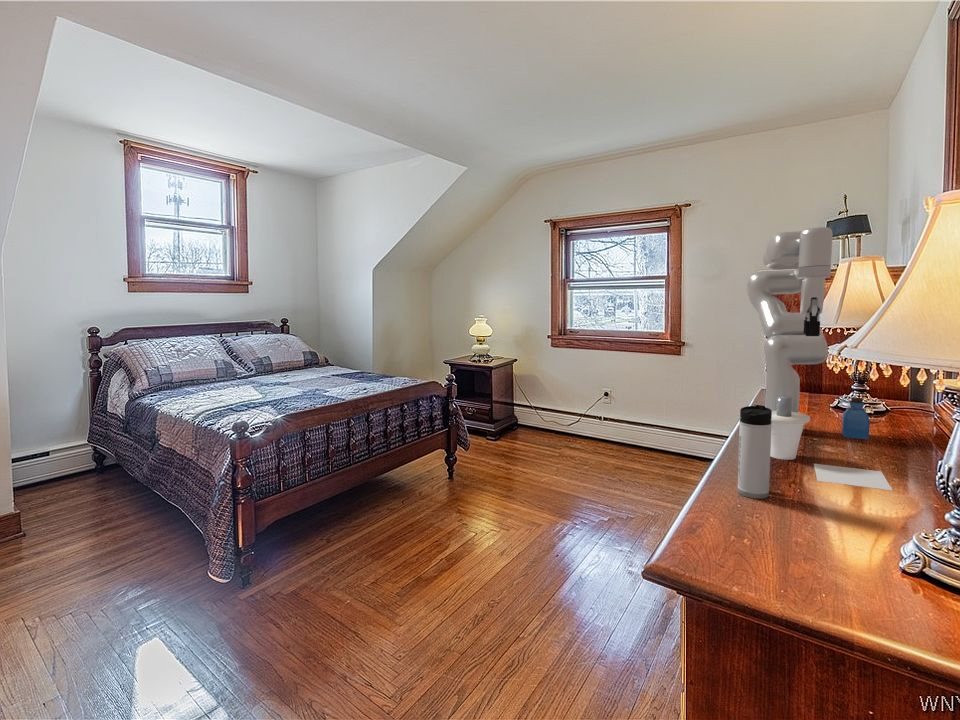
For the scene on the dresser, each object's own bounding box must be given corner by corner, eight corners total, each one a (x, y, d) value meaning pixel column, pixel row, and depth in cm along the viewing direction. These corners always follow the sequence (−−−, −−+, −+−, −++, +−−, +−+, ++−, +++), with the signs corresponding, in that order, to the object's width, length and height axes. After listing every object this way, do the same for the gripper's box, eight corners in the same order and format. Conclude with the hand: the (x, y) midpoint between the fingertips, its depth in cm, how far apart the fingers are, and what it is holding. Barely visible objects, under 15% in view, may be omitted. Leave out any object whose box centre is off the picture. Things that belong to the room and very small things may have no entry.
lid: (759, 412, 144) (760, 392, 144) (808, 416, 138) (809, 395, 138) (757, 421, 134) (758, 399, 134) (811, 426, 128) (812, 403, 127)
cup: (810, 464, 132) (812, 423, 130) (769, 462, 134) (770, 422, 132) (794, 453, 141) (796, 415, 140) (756, 451, 143) (757, 414, 142)
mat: (813, 465, 131) (813, 463, 130) (881, 473, 123) (881, 471, 123) (817, 482, 119) (817, 480, 118) (892, 492, 111) (892, 490, 111)
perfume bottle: (868, 439, 152) (871, 401, 151) (843, 437, 155) (845, 399, 154) (866, 434, 157) (868, 397, 156) (841, 432, 161) (843, 396, 159)
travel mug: (773, 492, 113) (776, 406, 111) (763, 501, 109) (767, 411, 106) (743, 486, 118) (746, 403, 115) (733, 494, 113) (735, 408, 111)
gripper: (796, 275, 147) (794, 332, 149) (799, 273, 133) (796, 337, 135) (827, 273, 144) (824, 333, 146) (833, 271, 129) (830, 337, 131)
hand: (811, 334), depth 140 cm, fingers open, 9 cm apart
